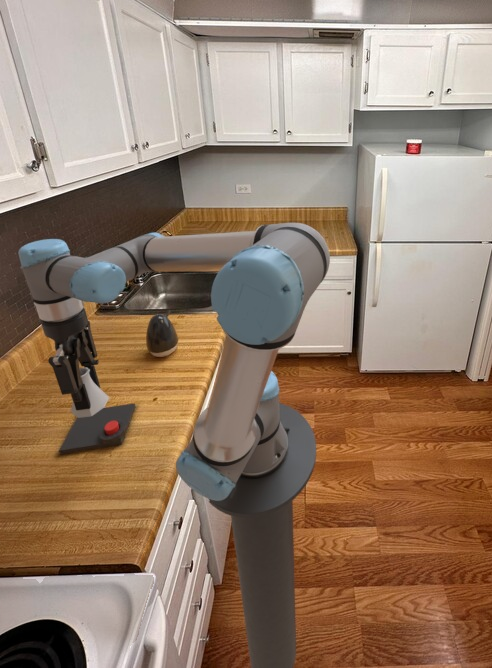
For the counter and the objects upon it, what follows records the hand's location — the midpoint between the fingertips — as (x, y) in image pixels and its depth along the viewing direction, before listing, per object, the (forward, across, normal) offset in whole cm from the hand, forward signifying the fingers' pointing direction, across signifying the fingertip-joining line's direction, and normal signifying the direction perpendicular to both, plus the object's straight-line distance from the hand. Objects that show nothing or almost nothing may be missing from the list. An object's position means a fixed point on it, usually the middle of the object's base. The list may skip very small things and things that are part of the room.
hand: (88, 398), depth 77 cm
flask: (+2, 0, 0) cm, 2 cm away
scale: (+17, -7, -3) cm, 19 cm away
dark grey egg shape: (+17, -37, +7) cm, 41 cm away
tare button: (+15, -3, +1) cm, 15 cm away
